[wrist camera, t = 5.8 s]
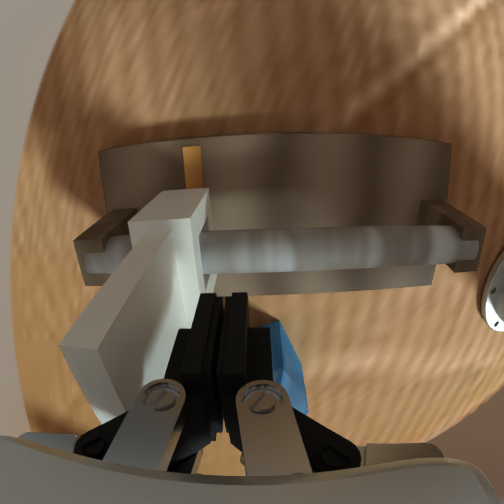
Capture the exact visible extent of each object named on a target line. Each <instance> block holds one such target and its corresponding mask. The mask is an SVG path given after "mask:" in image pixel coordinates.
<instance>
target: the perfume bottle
mask: <svg viewBox="0 0 504 504" xmlns="http://www.w3.org/2000/svg"><path fill="white" fill-rule="evenodd" d="M262 327H270V337H271V352H272V368H273V382H276V383H278V384H280V385H281V386H282V387H283V388H284V389H285V390H286V392H287V394H288V396H289V399H290V402H291V406H292V407H293V408H295V409H297V410H298V411H300V412H301V413H303V414H305V415H306V414H307V413H308V405H307V398H306V391H305V384H304V378H303V371H302V365H301V362H300V360H299V358H298V356H297V355H296V353H295V351H294V349H293V347H292V345H291V343H290V341H289V339H288V337H287V335H286V333H285V331H284V329H283V327H282V325H281V323H280V321H279V320H278V321H275V322H272V323H269V324H267V325H264V326H261V327H258V328H262ZM240 462H241V463H242V465H244V459H243V453H242V455H241V458H240ZM244 466H245V465H244Z"/></svg>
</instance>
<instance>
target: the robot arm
mask: <svg viewBox="0 0 504 504" xmlns="http://www.w3.org/2000/svg"><path fill="white" fill-rule="evenodd" d="M481 310H482V316H483V318H484V321H485V322H486V323H487V324H488V326H489V327H490V328H491V329H493V330H496V331H504V250H503V252H502V253H501V255H500V256H499V257H498V259H497V260H496V262H495V264H494V266H493V267H492V269H491V271H490V274H489V276H488V278H487V281H486V284H485V287H484V290H483V295H482V301H481ZM223 418H224V422H225V427H226V432H227V433H229V436H230V441H231V444H233V445H234V446H235V447H236V448H237V449H239V450H240V451H241V452H242V453H243V459H244V465H245V471H246V476H215V475H198V474H197V471H198V467H199V464H200V461H201V458H202V454H203V447H205V446H206V445H208V444H209V443H211V441H216V433H217V432H219V433H222V430H223ZM0 504H500V502H499V500H498V498H497V496H496V494H495V492H494V490H493V488H492V486H491V485H490V483H489V481H488V480H487V478H486V477H485V475H484V474H483V473H482V472H481V470H480V469H478V468H477V467H476V466H475V465H473V464H471V463H468V462H465V461H461V460H456V459H448V458H444V455H443V453H442V451H441V450H440V449H439V448H438V447H437V446H436V445H433V444H431V443H399V444H372V443H367V444H366V446H356V445H354V444H353V443H352V442H350V441H349V440H347V439H345V438H343V437H342V436H340V435H338V434H336V433H335V432H333V431H331V430H330V429H328V428H326V427H324V426H323V425H321V424H319V423H318V422H316V421H314V420H313V419H311V418H309V417H308V416H306V415H305V414H303V413H301V412H300V411H298V410H297V409H295V408H293V407H292V406H291V402H290V399H289V396H288V394H287V392H286V390H285V389H284V388H283V387H282V386H281V385H280V384H278V383H276V382H273V368H272V352H271V337H270V327H262V328H250V326H249V308H248V293H247V292H232V296H229V297H226V302H225V309H223V299H222V297H217V294H216V293H201V294H200V296H199V300H198V304H197V308H196V311H195V315H194V319H193V322H192V326H191V328H180V329H179V330H178V333H177V336H176V339H175V342H174V345H173V349H172V352H171V355H170V359H169V362H168V365H167V369H166V372H165V376H164V379H158V380H154V381H151V382H149V383H147V384H146V385H145V386H143V387H142V389H141V390H140V391H139V393H138V395H137V396H136V398H135V400H134V402H133V404H132V406H131V407H130V409H129V410H128V411H126V412H125V413H123V414H121V415H119V416H117V417H115V418H113V419H111V420H110V421H108V422H106V423H104V424H102V425H100V426H98V427H96V428H94V429H92V430H90V431H88V432H86V433H85V434H83V435H82V436H80V437H77V436H76V435H75V434H54V433H37V432H27V433H24V434H22V435H20V436H19V438H16V437H11V436H1V435H0Z"/></svg>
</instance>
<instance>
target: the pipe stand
mask: <svg viewBox="0 0 504 504" xmlns="http://www.w3.org/2000/svg"><path fill="white" fill-rule="evenodd" d="M451 145H452V144H449V143H445V142H440V141H434V140H425V139H416V138H407V137H396V136H383V135H369V134H350V133H315V132H283V133H248V134H229V135H214V136H201V137H190V138H180V139H170V140H162V141H154V142H146V143H139V144H132V145H125V146H118V147H112V148H108V149H104V150H101V151H98V154H99V162H100V170H101V177H102V184H103V190H104V196H105V202H106V208H107V214H106V215H105V216H104V217H102V218H101V219H100V220H98V221H97V222H96V223H95V224H93V225H92V226H91V227H89V228H88V229H87V230H86V231H84V232H83V233H82V234H81V235H79V236H78V237H77V238H76V239H75V240H73V242H74V246H75V250H76V254H77V258H78V262H79V265H80V269H81V272H82V276H83V279H84V283H85V286H103V284H104V283H105V282H106V281H107V279H108V278H109V277H110V276H111V274H112V273H113V272H114V271H115V269H116V268H117V267H118V266H119V264H120V263H121V262H122V261H123V259H124V258H125V257H126V256H127V255H128V253H129V252H130V251H131V250H132V249H133V248H132V243H131V238H130V232H129V227H128V221H129V220H130V219H132V218H133V217H134V216H135V215H136V214H137V213H138V212H139V211H140V210H141V209H143V208H144V207H145V206H146V205H147V204H148V203H149V202H150V201H152V200H153V199H154V198H155V197H156V196H157V195H158V194H160V193H161V192H162V191H168V190H181V189H196V188H209V192H210V204H211V215H212V227H213V231H201V232H200V235H199V243H200V252H201V260H202V269H203V274H217V278H216V282H215V286H214V291H213V293H216V294H217V296H232V292H247V293H248V296H255V295H283V294H306V293H326V292H344V291H360V290H375V289H389V288H402V287H414V286H425V285H431V284H432V280H433V276H434V271H435V266H436V264H446V265H447V266H448V267H449V268H450V269H451V270H452V271H454V272H455V273H456V272H468V271H477V268H478V264H479V260H480V255H481V251H482V247H483V242H484V237H485V233H486V227H484V226H483V225H481V224H480V223H478V222H477V221H475V220H473V219H472V218H470V217H469V216H467V215H465V214H464V213H462V212H460V211H459V210H457V209H455V208H454V207H452V206H450V205H448V204H447V203H446V202H447V194H448V184H449V174H450V162H451Z"/></svg>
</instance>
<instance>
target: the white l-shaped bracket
mask: <svg viewBox="0 0 504 504" xmlns="http://www.w3.org/2000/svg"><path fill="white" fill-rule="evenodd" d="M128 227H129V232H130V238H131V243H132V248H133V249H132V250H131V251H130V252H129V253H128V255H127V256H126V257H125V258H124V259H123V261H122V262H121V263H120V264H119V266H118V267H117V268H116V269H115V271H114V272H113V273H112V274H111V276H110V277H109V278H108V279H107V281H106V282H105V283H104V284H103V286H102V287H101V288H100V290H99V291H98V292H97V293H96V295H95V296H94V297H93V299H92V300H91V301H90V303H89V304H88V305H87V307H86V308H85V309H84V311H83V312H82V313H81V315H80V316H79V318H78V319H77V320H76V322H75V323H74V324H73V326H72V327H71V329H70V330H69V331H68V333H67V334H66V336H65V337H64V338H63V340H62V341H61V343H60V344H59V346H60V348H61V351H62V353H63V355H64V357H65V359H66V361H67V363H68V365H69V367H70V369H71V371H72V373H73V375H74V377H75V379H76V381H77V383H78V384H79V386H80V388H81V390H82V392H83V394H84V395H85V397H86V399H87V401H88V402H89V404H90V406H91V407H92V409H93V411H94V413H95V414H96V416H97V417H98V419H99V421H100V422H101V424H104V423H106V422H108V421H110V420H111V419H113V418H115V417H117V416H119V415H121V414H123V413H125V412H126V411H128V410H129V409H130V407H131V406H132V404H133V402H134V400H135V398H136V396H137V395H138V393H139V391H140V390H141V389H142V387H143V386H145V385H146V384H147V383H149V382H151V381H154V380H158V379H164V376H165V372H166V369H167V365H168V362H169V359H170V355H171V352H172V349H173V345H174V342H175V339H176V336H177V333H178V330H179V329H180V328H191V326H192V322H193V319H194V315H195V311H196V308H197V304H198V300H199V296H200V294H201V293H213V291H214V286H215V282H216V278H217V274H203V269H202V260H201V252H200V243H199V235H200V232H201V231H213V227H212V215H211V204H210V192H209V188H196V189H181V190H168V191H162V192H161V193H160V194H158V195H157V196H156V197H155V198H154V199H153V200H152V201H150V202H149V203H148V204H147V205H146V206H145V207H144V208H143V209H141V210H140V211H139V212H138V213H137V214H136V215H135V216H134V217H133V218H132V219H130V220H129V221H128Z"/></svg>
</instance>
